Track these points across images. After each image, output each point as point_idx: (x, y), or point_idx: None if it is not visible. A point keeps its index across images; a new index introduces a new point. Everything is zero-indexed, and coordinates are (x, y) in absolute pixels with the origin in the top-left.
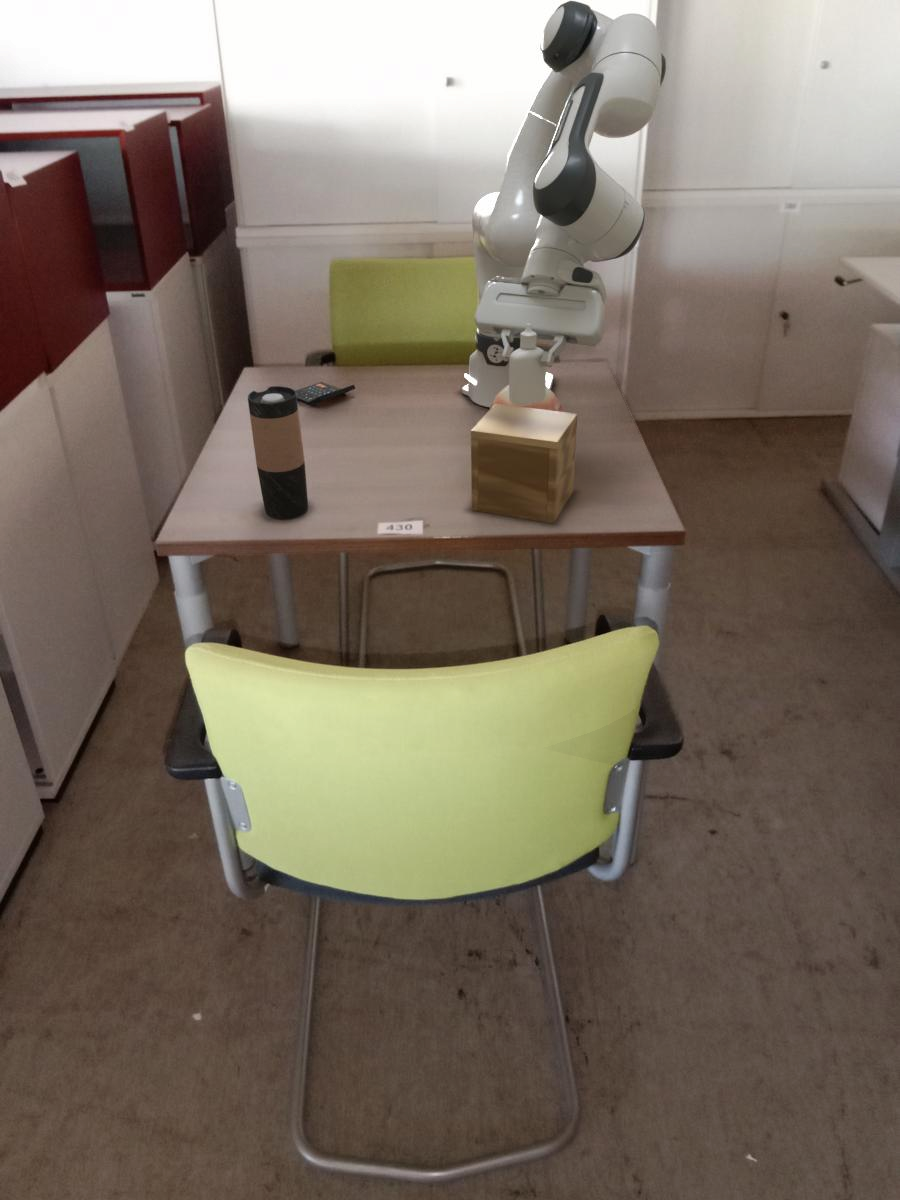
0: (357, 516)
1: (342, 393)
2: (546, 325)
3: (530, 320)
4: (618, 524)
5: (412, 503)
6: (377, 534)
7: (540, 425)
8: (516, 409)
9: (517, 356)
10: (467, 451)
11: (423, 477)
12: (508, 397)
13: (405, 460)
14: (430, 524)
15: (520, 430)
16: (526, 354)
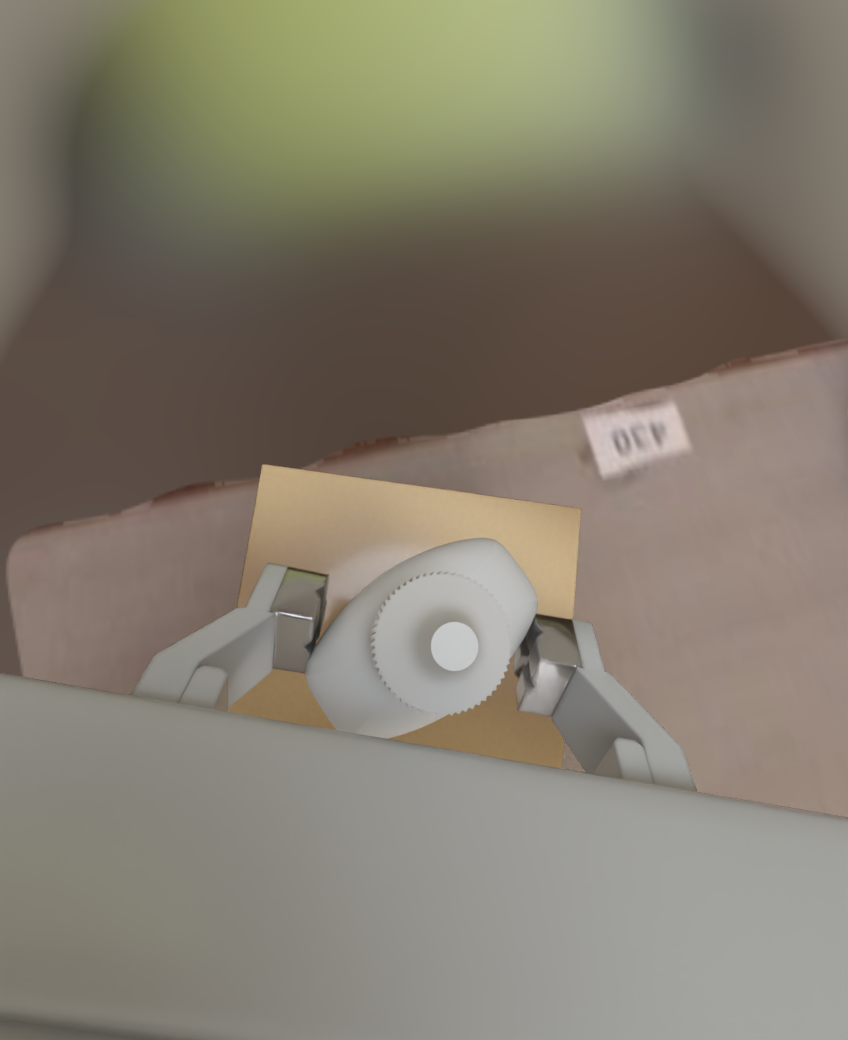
0: (745, 468)
1: None
2: (283, 758)
3: (467, 828)
4: (144, 547)
5: (652, 553)
6: (673, 399)
7: (343, 603)
8: (464, 750)
9: (481, 543)
10: None
11: (675, 702)
12: None
13: (757, 799)
14: (579, 462)
15: (409, 539)
16: (425, 559)
